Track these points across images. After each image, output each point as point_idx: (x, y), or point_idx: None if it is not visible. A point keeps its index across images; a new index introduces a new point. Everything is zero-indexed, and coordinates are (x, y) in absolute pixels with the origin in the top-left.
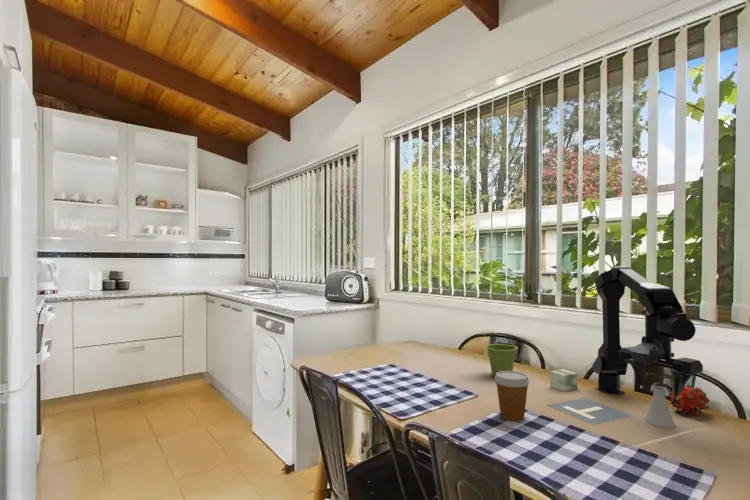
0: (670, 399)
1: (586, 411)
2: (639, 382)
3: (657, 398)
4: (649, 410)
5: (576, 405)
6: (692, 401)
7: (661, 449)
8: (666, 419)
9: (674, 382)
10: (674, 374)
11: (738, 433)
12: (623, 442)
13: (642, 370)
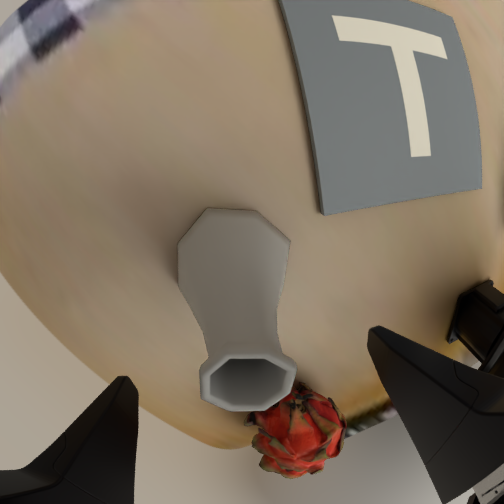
0: (332, 405)
1: (400, 66)
2: (392, 334)
3: (223, 311)
4: (258, 251)
5: (447, 90)
6: (264, 434)
7: (53, 93)
8: (185, 271)
9: (80, 446)
10: (12, 486)
11: (146, 404)
12: (128, 2)
13: (429, 427)
